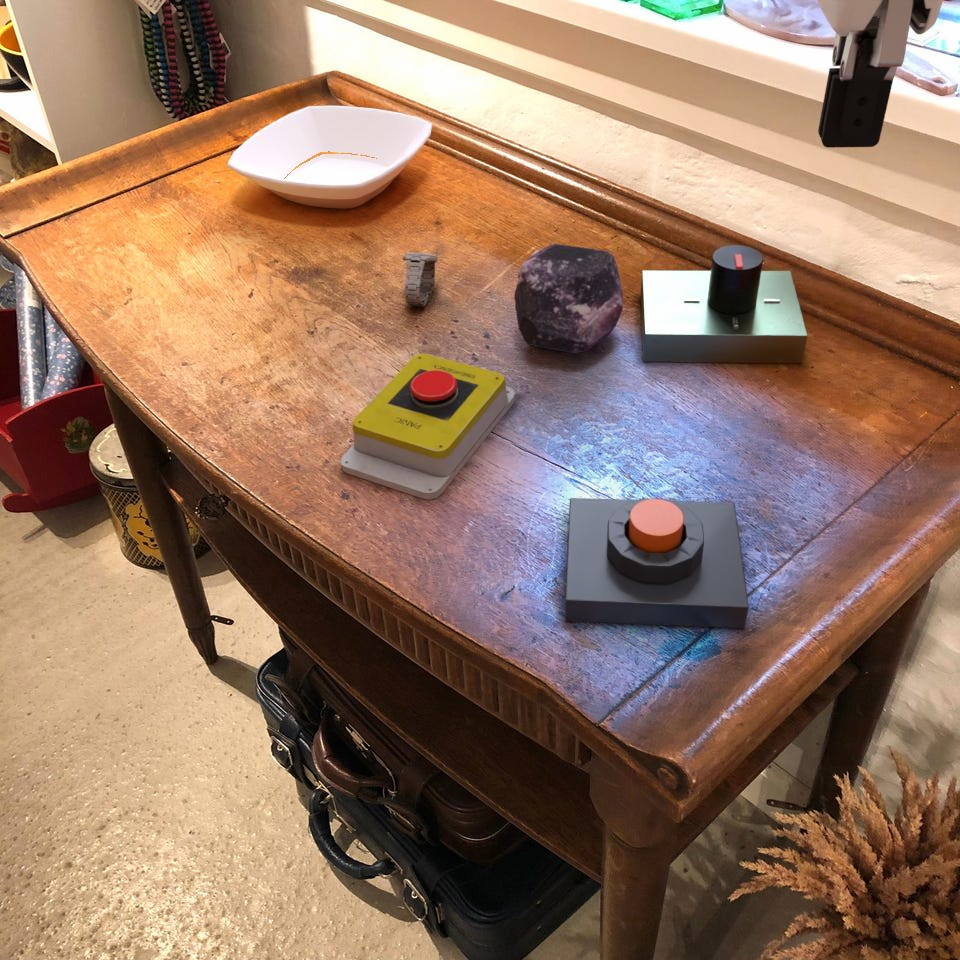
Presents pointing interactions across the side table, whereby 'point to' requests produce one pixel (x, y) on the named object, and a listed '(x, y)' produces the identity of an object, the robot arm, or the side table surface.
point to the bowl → (331, 174)
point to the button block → (655, 568)
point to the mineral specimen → (568, 297)
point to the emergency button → (426, 425)
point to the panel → (719, 321)
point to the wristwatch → (419, 278)
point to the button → (656, 526)
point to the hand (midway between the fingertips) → (847, 140)
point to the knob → (734, 279)
